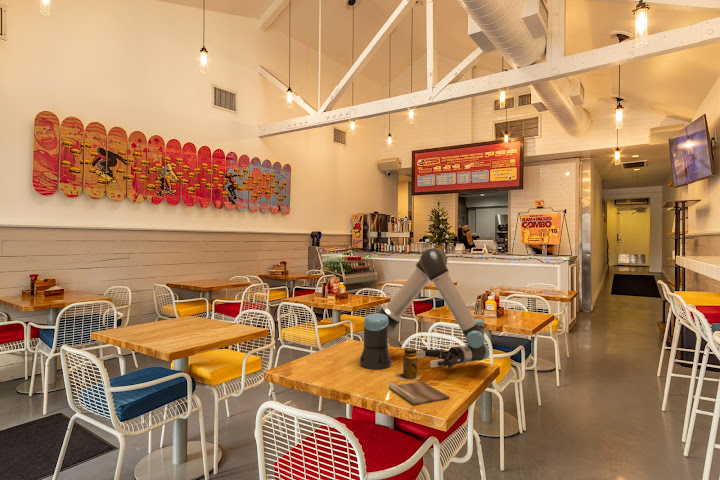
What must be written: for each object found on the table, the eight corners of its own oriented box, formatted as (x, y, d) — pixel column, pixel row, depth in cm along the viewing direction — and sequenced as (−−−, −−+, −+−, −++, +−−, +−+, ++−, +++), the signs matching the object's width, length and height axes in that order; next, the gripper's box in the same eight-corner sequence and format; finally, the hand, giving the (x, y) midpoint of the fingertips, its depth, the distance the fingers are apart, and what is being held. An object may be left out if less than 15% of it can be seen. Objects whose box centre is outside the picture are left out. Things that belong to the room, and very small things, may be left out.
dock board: (422, 383, 166) (422, 377, 166) (449, 398, 149) (449, 392, 149) (388, 388, 159) (389, 382, 159) (413, 405, 142) (413, 399, 142)
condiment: (420, 379, 171) (420, 351, 171) (401, 380, 169) (402, 352, 169) (414, 373, 178) (414, 346, 178) (396, 374, 176) (396, 347, 176)
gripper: (478, 370, 173) (438, 377, 164) (442, 355, 196) (406, 360, 187) (478, 353, 173) (438, 359, 164) (443, 340, 196) (406, 344, 187)
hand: (421, 359), depth 175 cm, fingers open, 13 cm apart
